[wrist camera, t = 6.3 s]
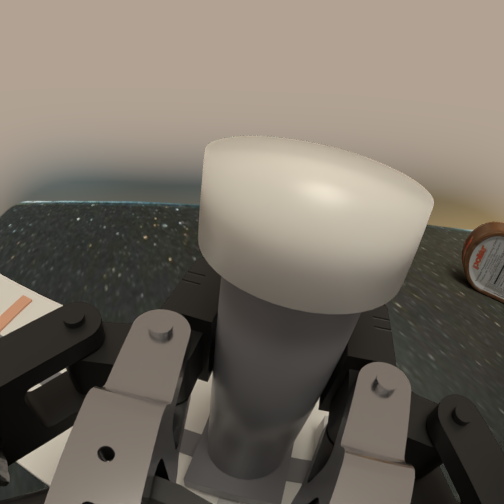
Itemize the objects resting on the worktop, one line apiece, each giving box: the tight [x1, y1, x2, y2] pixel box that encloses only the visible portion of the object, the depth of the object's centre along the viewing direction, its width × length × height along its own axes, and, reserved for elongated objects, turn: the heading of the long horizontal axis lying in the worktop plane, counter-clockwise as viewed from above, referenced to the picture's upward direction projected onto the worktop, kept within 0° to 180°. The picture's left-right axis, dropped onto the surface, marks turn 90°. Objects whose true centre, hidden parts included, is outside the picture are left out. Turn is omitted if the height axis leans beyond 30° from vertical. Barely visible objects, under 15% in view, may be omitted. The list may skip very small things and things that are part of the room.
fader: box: [184, 136, 434, 504], centre depth 8 cm, size 4×4×12 cm
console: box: [0, 274, 329, 504], centre depth 13 cm, size 26×10×3 cm, turn 77°
